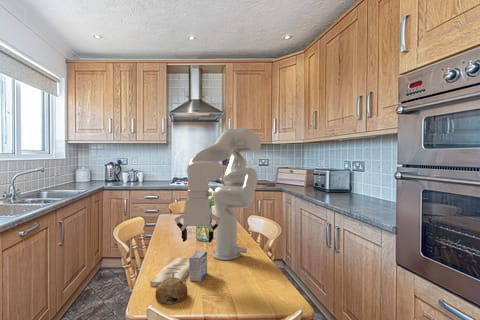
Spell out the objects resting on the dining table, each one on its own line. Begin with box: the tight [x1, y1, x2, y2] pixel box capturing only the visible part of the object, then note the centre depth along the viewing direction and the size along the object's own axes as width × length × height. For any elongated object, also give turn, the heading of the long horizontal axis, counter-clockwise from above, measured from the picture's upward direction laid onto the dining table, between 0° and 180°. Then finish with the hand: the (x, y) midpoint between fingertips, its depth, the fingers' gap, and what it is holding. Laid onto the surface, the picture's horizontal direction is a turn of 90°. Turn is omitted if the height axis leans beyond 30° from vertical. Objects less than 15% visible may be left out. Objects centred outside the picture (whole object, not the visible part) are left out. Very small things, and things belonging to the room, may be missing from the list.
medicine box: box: [188, 250, 208, 283], centre depth 112 cm, size 8×4×9 cm, turn 168°
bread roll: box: [154, 277, 188, 306], centre depth 96 cm, size 10×10×8 cm
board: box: [149, 257, 190, 287], centre depth 116 cm, size 10×24×2 cm, turn 174°
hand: (197, 241), depth 111 cm, fingers open, 9 cm apart
